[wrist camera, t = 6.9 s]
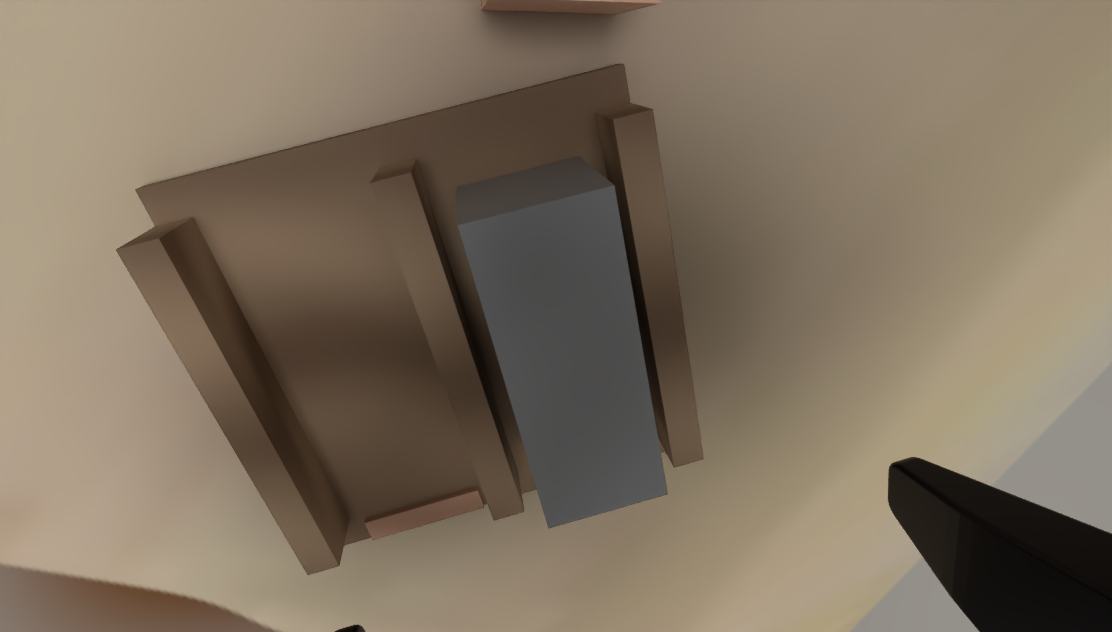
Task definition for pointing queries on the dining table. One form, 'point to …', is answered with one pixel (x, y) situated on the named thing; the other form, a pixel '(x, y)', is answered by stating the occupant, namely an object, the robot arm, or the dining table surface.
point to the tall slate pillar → (565, 334)
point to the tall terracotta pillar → (568, 5)
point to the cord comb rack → (391, 307)
